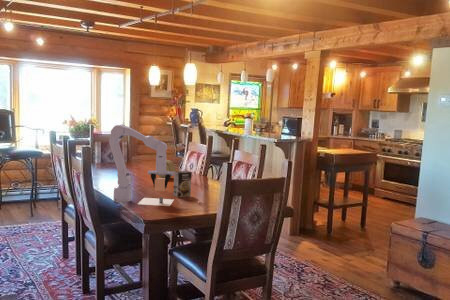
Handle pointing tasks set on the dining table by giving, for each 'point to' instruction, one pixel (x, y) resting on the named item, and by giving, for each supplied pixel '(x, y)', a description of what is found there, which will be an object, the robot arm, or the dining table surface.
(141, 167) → the dining table surface
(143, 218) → the dining table surface
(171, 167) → the cantaloupe
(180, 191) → the coffee box
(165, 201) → the base plate
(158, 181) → the peach cube
